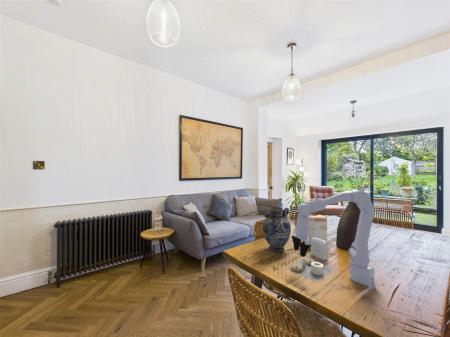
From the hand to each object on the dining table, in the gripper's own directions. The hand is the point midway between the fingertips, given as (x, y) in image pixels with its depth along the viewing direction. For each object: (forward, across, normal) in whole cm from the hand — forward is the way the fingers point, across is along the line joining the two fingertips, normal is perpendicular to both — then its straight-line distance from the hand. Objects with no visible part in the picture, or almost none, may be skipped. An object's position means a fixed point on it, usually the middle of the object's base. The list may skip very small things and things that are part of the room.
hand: (299, 253), depth 105 cm
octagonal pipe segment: (+8, +2, +9) cm, 13 cm away
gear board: (+10, -1, +7) cm, 13 cm away
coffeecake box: (+10, -43, +32) cm, 55 cm away
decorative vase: (+12, -33, 0) cm, 35 cm away
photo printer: (+10, -16, +21) cm, 28 cm away
